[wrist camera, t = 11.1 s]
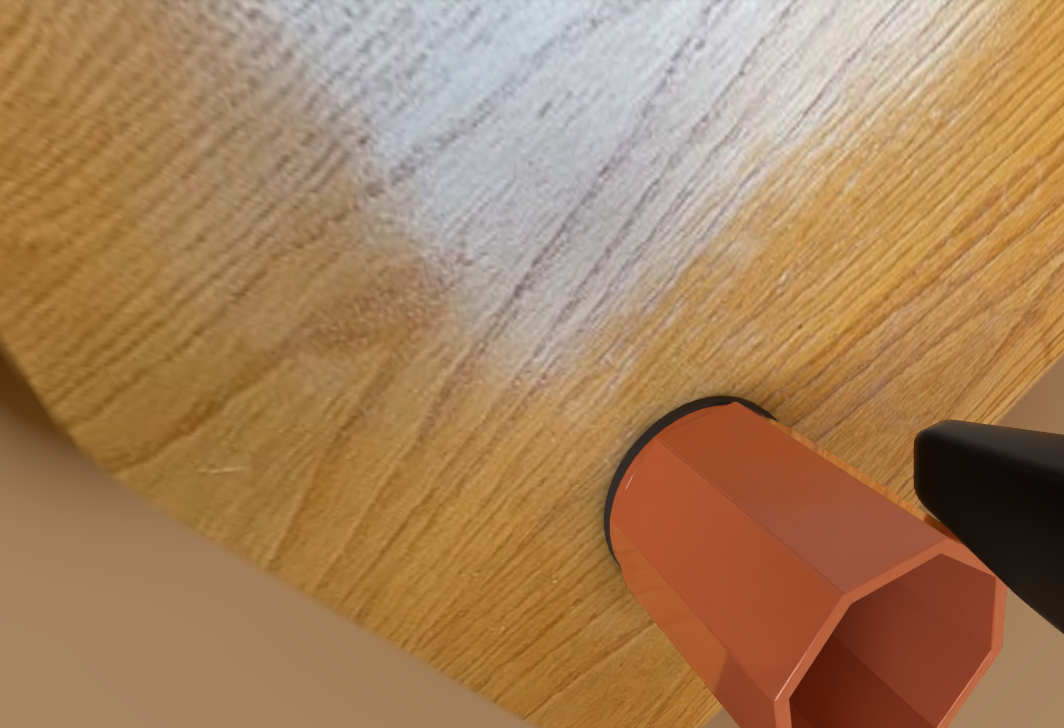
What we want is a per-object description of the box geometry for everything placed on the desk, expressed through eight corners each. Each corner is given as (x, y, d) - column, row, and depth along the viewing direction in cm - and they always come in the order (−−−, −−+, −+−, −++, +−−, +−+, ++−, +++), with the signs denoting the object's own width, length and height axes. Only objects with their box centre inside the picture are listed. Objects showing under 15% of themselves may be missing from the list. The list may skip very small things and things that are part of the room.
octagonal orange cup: (629, 621, 25) (790, 833, 18) (590, 457, 22) (766, 638, 15) (794, 535, 27) (999, 700, 20) (779, 371, 24) (1015, 500, 17)
